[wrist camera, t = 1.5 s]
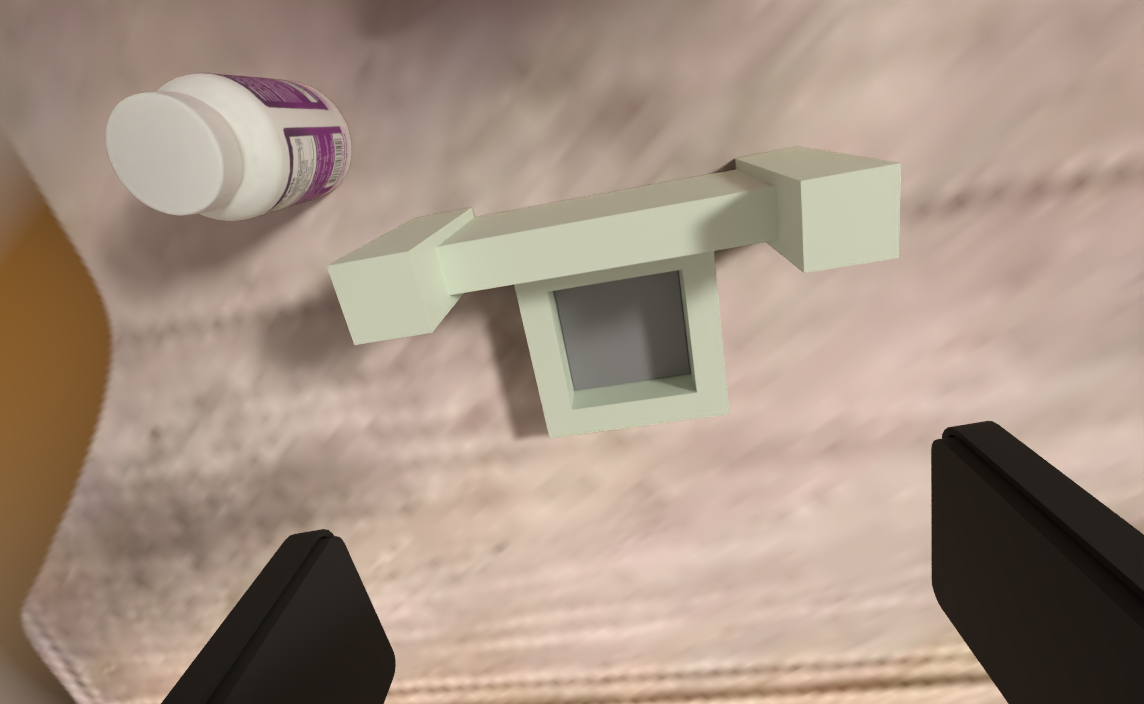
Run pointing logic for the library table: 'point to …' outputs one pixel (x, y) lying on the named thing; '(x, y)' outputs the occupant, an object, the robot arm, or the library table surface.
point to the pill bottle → (228, 145)
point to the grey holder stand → (625, 276)
